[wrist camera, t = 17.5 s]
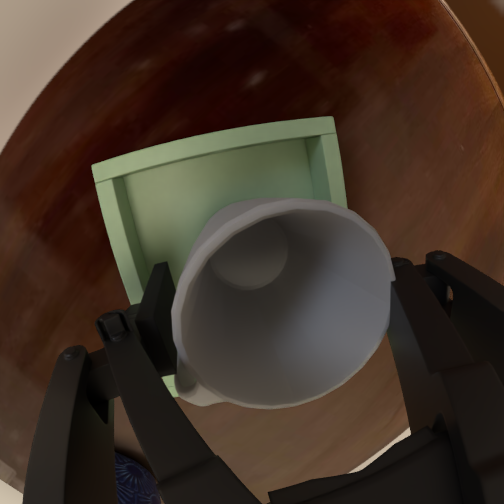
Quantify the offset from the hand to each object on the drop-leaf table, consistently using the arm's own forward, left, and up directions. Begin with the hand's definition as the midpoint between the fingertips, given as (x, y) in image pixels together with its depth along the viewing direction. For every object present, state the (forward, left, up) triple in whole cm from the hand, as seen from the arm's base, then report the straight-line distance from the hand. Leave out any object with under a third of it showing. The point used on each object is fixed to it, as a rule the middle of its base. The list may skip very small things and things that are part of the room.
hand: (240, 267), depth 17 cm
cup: (0, 0, 0) cm, 1 cm away
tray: (0, 0, -2) cm, 2 cm away
